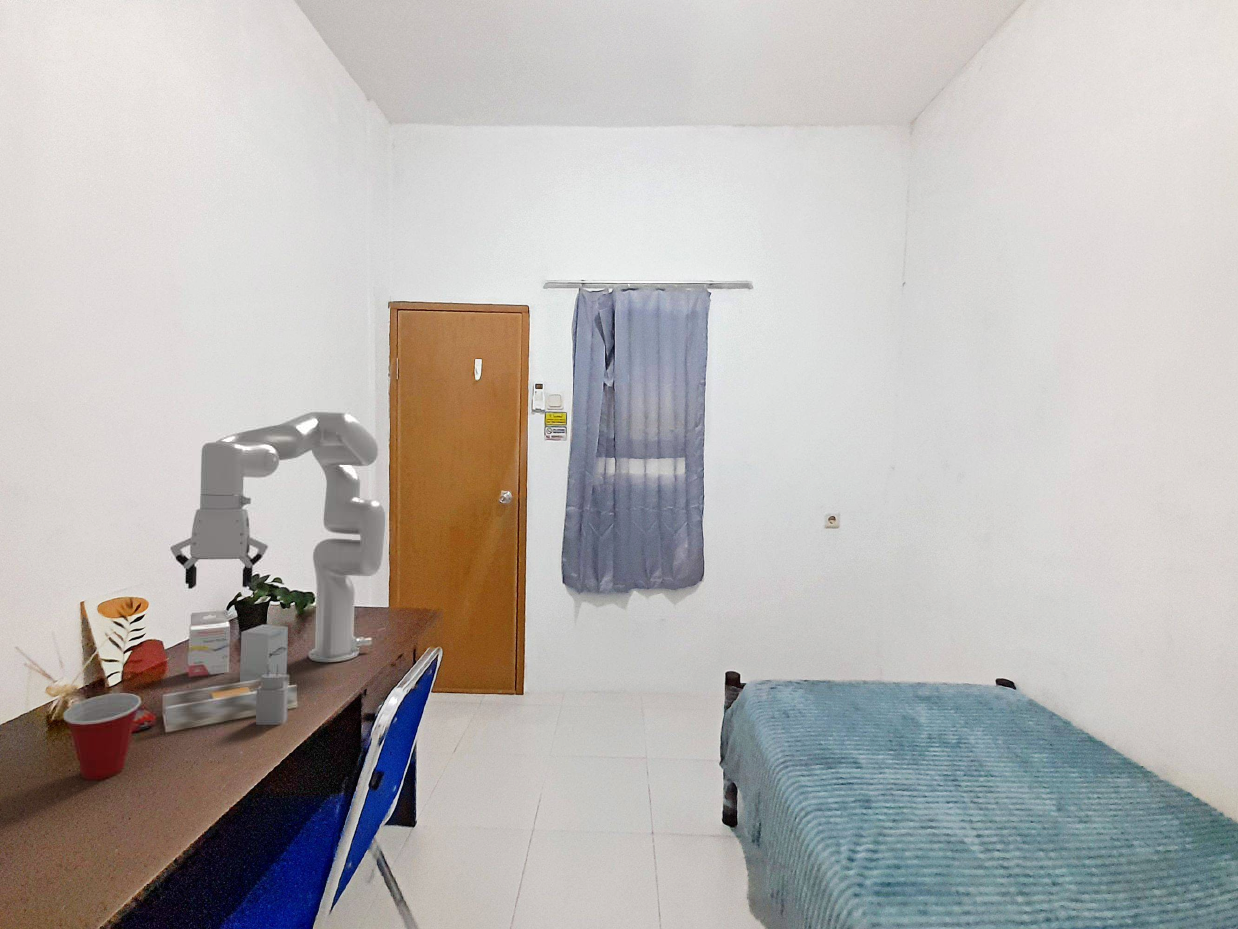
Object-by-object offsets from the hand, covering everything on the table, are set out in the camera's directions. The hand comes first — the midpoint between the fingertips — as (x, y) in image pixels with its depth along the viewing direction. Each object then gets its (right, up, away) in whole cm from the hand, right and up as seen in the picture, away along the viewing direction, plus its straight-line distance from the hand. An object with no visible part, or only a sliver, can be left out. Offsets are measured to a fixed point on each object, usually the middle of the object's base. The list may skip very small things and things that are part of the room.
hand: (219, 586), depth 139 cm
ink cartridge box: (-20, -27, +29) cm, 44 cm away
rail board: (-1, -28, +7) cm, 29 cm away
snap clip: (-1, -25, +6) cm, 26 cm away
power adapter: (+10, -29, +2) cm, 30 cm away
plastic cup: (-8, -29, -21) cm, 36 cm away
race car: (-18, -28, -1) cm, 33 cm away
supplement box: (-4, -27, +25) cm, 37 cm away
